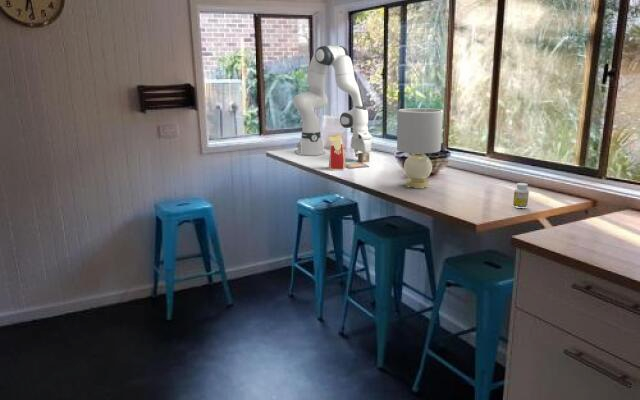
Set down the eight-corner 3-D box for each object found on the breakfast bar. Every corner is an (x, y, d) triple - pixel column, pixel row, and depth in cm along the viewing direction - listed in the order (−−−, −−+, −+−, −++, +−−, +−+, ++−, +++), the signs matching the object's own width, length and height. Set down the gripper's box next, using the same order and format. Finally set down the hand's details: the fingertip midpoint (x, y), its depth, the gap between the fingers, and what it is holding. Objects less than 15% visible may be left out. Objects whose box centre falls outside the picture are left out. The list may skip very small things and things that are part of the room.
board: (338, 163, 293) (338, 162, 293) (357, 162, 297) (357, 160, 297) (349, 168, 279) (349, 167, 279) (369, 167, 283) (369, 165, 283)
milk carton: (345, 167, 283) (345, 131, 278) (344, 170, 274) (344, 133, 269) (329, 167, 284) (328, 131, 279) (327, 170, 275) (327, 133, 270)
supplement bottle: (524, 210, 198) (526, 186, 196) (510, 207, 202) (512, 184, 199) (529, 207, 202) (531, 183, 200) (515, 204, 206) (517, 181, 203)
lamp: (393, 180, 249) (395, 108, 240) (434, 180, 248) (438, 108, 239) (398, 190, 230) (400, 112, 221) (442, 190, 229) (447, 112, 220)
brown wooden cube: (358, 161, 300) (358, 152, 299) (365, 160, 302) (365, 152, 301) (361, 162, 296) (361, 154, 295) (369, 162, 298) (369, 153, 296)
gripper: (348, 133, 302) (348, 155, 306) (363, 137, 284) (363, 161, 287) (357, 132, 304) (357, 155, 308) (373, 136, 286) (373, 160, 289)
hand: (360, 158), depth 297 cm, fingers open, 8 cm apart
